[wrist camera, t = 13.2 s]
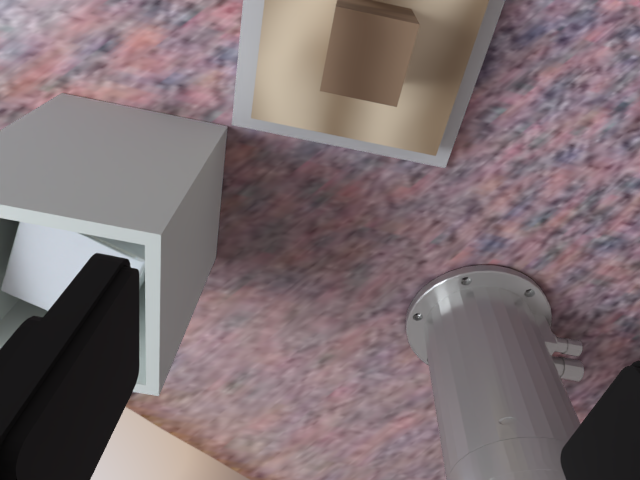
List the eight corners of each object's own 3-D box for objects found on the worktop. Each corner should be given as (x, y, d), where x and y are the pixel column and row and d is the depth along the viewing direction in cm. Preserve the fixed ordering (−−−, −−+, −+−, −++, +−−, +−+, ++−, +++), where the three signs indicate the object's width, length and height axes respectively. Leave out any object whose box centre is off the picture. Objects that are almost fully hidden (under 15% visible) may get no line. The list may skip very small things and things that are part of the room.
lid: (501, -60, 29) (535, -53, 24) (432, 146, 36) (446, 189, 31) (281, -110, 29) (262, -115, 23) (255, 109, 36) (235, 146, 30)
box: (227, 126, 37) (160, 235, 25) (216, 257, 44) (158, 396, 31) (61, 92, 37) (-93, 186, 24) (75, 231, 43) (-40, 361, 31)
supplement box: (116, 120, 38) (21, 202, 27) (206, 170, 39) (150, 264, 29) (88, 194, 41) (-5, 291, 31) (171, 236, 43) (110, 342, 32)
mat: (532, -85, 29) (535, -85, 29) (444, 164, 38) (445, 168, 37) (258, -147, 28) (256, -148, 28) (233, 122, 37) (231, 125, 37)
